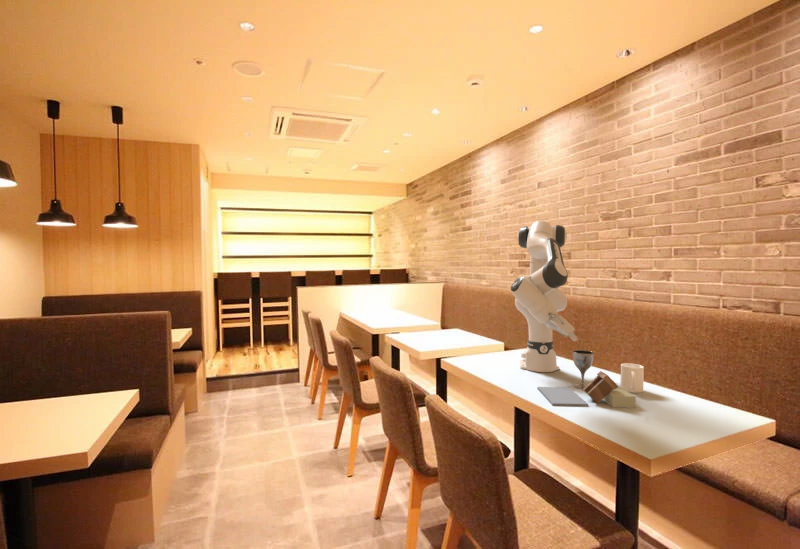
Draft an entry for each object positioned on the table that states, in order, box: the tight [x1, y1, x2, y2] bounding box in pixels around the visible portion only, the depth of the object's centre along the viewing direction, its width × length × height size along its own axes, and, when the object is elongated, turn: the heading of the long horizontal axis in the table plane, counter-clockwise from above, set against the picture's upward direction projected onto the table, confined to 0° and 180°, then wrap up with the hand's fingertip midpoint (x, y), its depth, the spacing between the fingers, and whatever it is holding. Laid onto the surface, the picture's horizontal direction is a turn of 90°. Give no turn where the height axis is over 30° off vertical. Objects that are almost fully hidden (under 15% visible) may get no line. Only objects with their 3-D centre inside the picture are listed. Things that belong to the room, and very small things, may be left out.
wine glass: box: [572, 349, 594, 390], centre depth 172 cm, size 8×8×15 cm
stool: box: [582, 370, 619, 404], centre depth 154 cm, size 6×11×11 cm, turn 86°
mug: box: [619, 362, 645, 394], centre depth 166 cm, size 12×8×10 cm
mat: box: [537, 386, 589, 407], centre depth 159 cm, size 20×13×1 cm, turn 176°
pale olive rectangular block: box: [602, 386, 637, 408], centre depth 154 cm, size 12×8×4 cm, turn 176°
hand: (571, 338), depth 154 cm, fingers open, 8 cm apart
